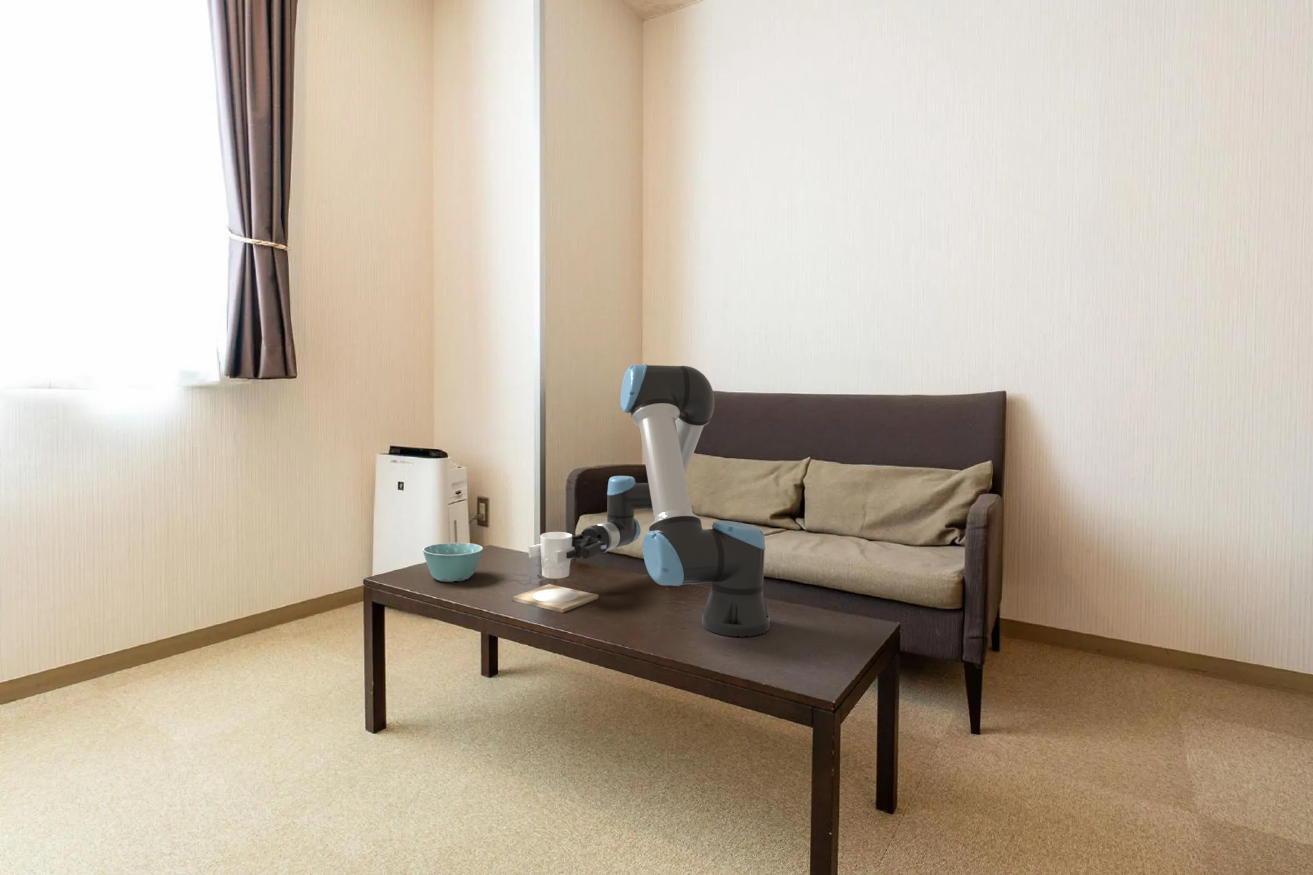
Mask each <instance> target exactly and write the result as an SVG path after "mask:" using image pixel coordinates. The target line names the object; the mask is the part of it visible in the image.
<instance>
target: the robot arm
mask: <svg viewBox="0 0 1313 875" xmlns="http://www.w3.org/2000/svg"><path fill="white" fill-rule="evenodd" d="M713 390H714V389H713V387H712V385H711V383H710V381H709V379H708V378H707V377H706V375H705V374H704V373H703V372H702V371H700V370H699V369H697V368H695V367H693V366H690V365H689V366H688V365H661V364H660V365H657V364H656V365H655V364H654V365H653V364H647V363H644V364H632V365H630V366H629V367H628V368H627V369H626V371H625V373H624V376H623V378H622V383H621V389H620V408H621V410H622V412H623V413H625V414H630V416H631V421H632V423H633V424H634V425H635V426H637V427H638V428H639V431H640V438H641V444H642V445H641V446H642V452H643V456H644V462H645V469H646V477H647V482H636V479H635V478H634V477H633V476H629V475H614V476H611V477H610V478H609V479H608V484H607V492H606V494H607V504H606V505H607V511H606V512H607V516H606V521H605V522H600V523H598V524H594V525H590V526H587V527H585V528H584V529H582V531H581V533H579V534H576V535H572V547H570V548H567V549H563V550H560V551H556V552H555V563H560V562H563V561H567V560H570V559H571V560H572V559H580V558H581V557H582V559H585V560H586V559H589V558H591V557H595V555H598V554H602V553H607V552H608V551H610V550H614V549H615V548H616V549H617V548H620V547H624V546H628V545H630V544H632V543H635V541H637V540H638V539H639V538H640V535H641V529H642V528H641V526H640V522H639V521H638V520H637V519H636V518H635V511H640V510H641V511H643V510H645V511H646V510H651V511H653V518H654V519H653V521H652V522H651V524H650V525H649V527H648V531H649V532H647V533H646V534H645V535H644V536H643V541H642V542H643V543H642V548H643V550H642V553H643V560H644V564H645V567H646V570H647V572H648V574H649V576H650V577H651V579H652V580H653V581H654V582H655V583H656V584H658V585H660V586H674V587H680V586H683V585H694V584H706V583H710V591H709V594H708V598H707V599H706V600H707V601H706V604H705V607H704V609H703V612H702V614H701V616H702V617H701V626H702V627H703V628H704V629H706V630H707V631H709V632H712V633H714V634H718V635H721V636H727V637H736V638H737V636H739V638H742V637H744V638H745V636H748V637H756V636H759V635H758V634H760V635H763V634H765V633H767V632H768V631H769V630H770V625H771V624H770V623H771V618H770V617H771V616H770V615H769V612H768V607H767V604H766V600H765V596H764V575H765V574H764V573H765V571H764V570H765V551H766V541H765V540H766V539H765V534H764V531H763V530H762V529H761V528H759V527H757V526H755V525H752V524H748V523H743V522H739V521H738V522H737V521H731V520H715V521H713V522H712V525H711V528H708V529H707V528H706V529H705V528H703V525H702V521H701V518H700V516H698V515H697V514H695V513H693V509H692V505H691V498H690V493H689V488H688V484H687V477H686V474H687V471H688V469H689V466H690V464H691V460H692V458H693V455H694V452H695V450H696V447H697V445H698V442H699V440H700V437H701V434H702V431H703V429H704V427H705V426H706V425H708V424H709V423H710V421H711V419H712V416H713V414H714V409H715V393H714V391H713ZM539 556H540V557H541V548H540V543H538V544H534V545H530V546H528V558H529V559H533V558H535V557H539ZM768 629H769V630H768ZM766 631H767V632H766ZM762 633H763V634H762ZM755 635H756V636H755Z"/></svg>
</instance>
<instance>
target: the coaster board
mask: <svg viewBox="0 0 1313 875" xmlns="http://www.w3.org/2000/svg"><path fill="white" fill-rule="evenodd" d="M598 599H599V594H596V593H591V592H587V591H583V590H582V591H581V590H578V589H573V588H568V587H563V586H559V585H556V584H555V585H554V584H552V583H551V584H550V583H548V584H544V585H543V586H540V587H537V588H533V589H531V590H528V591H525V592H522V593H518V594H517V595H514V596H511V601H514V602H517V603H522V604H525V605H528V606H533V607H537V608H542V609H545V610H550V611H553V612H558V613H565V612H568V611H570V610H573V609H576V608H578V607H581V606H584V605H586V604H588V603H591V602H593V601H595V600H598Z"/></svg>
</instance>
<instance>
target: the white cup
mask: <svg viewBox="0 0 1313 875" xmlns="http://www.w3.org/2000/svg"><path fill="white" fill-rule="evenodd" d="M572 536H573V534H572V533H568V532H564V531H549V532H544V533H541V534H540V536H539V541H540V543H539V544H540V548H541V555H540V561H541V562H540V565H541V576H542V577H543V578H547V579H555V580H556V579H564V578H567V577H569V576H570V569H571V568H570V567H571V560H572V559H570V560H567V561H563V562H560V563H555V552H556V551H560V550H563V549H567V548H570V547H573V546H572Z"/></svg>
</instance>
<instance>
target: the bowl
mask: <svg viewBox="0 0 1313 875" xmlns="http://www.w3.org/2000/svg"><path fill="white" fill-rule="evenodd" d="M483 550H484V548H483V546H481V545H479V544H476V543H470V542H469V543H468V542H445V543H443V542H442V543H436V544H435V543H434V544H431V545H430V544H429V545H427V546H424V547H423V548H422V553H423V555H424V559H425V561H426V565H427V567H428V570H429V572H430V575H431V576H432V577H433V578H434V579H435V580H436V581H439V582H445V583H455V582H454V581H458V582H463V581H466V580H468V579H470V578H471V577H472V576H473V575H474V574H475V572H476V569H477V567H478V564H479V560H480V559H481V555H482V553H483ZM465 579H466V580H465Z"/></svg>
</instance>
